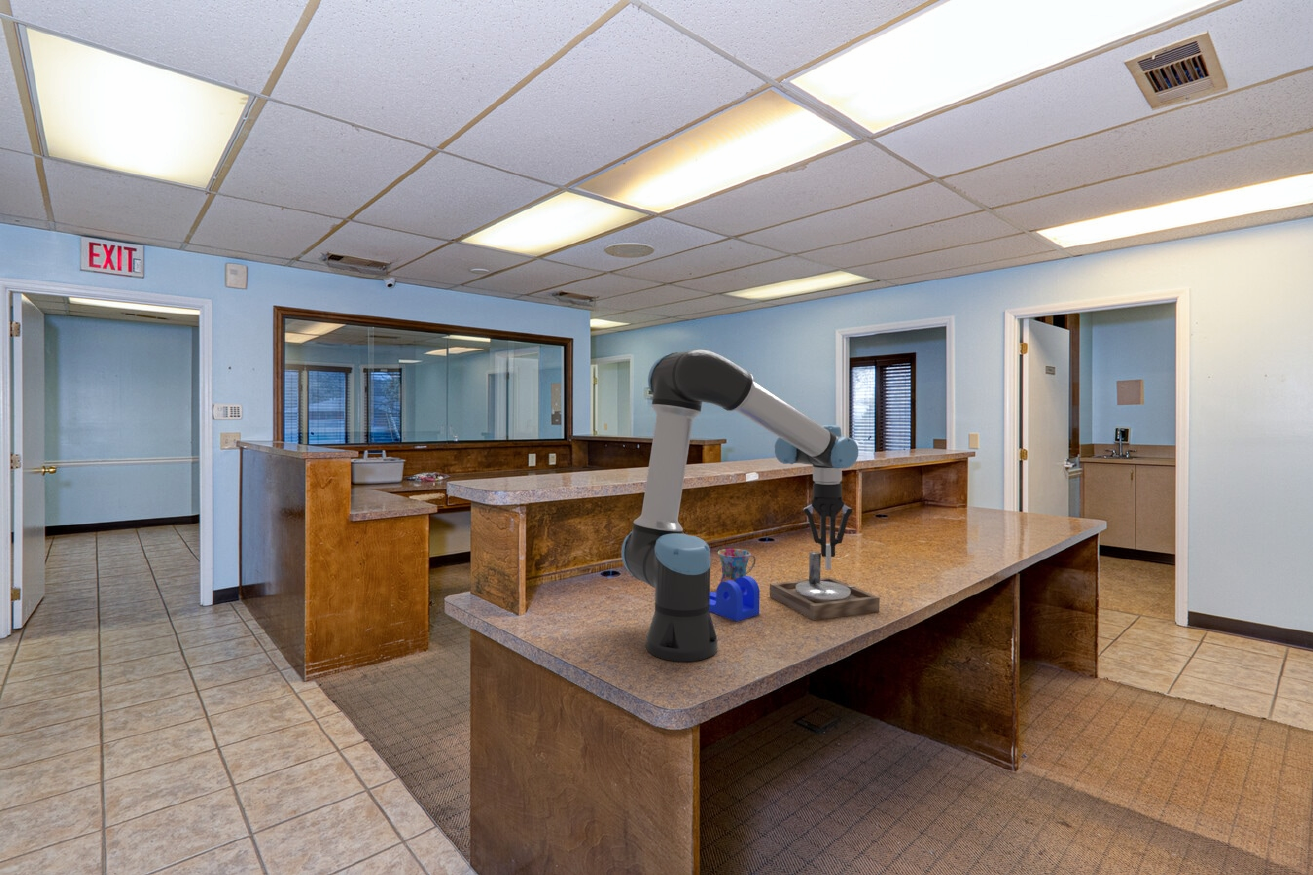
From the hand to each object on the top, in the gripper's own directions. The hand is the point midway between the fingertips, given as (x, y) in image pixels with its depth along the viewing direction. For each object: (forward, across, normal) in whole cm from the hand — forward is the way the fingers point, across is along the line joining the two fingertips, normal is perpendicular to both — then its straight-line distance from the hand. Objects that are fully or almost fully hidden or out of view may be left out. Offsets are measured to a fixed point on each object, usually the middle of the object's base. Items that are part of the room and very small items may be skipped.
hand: (828, 568), depth 165 cm
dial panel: (+8, +2, +6) cm, 10 cm away
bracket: (+7, +28, +14) cm, 33 cm away
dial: (+6, +2, +5) cm, 8 cm away
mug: (+8, +25, -3) cm, 26 cm away
